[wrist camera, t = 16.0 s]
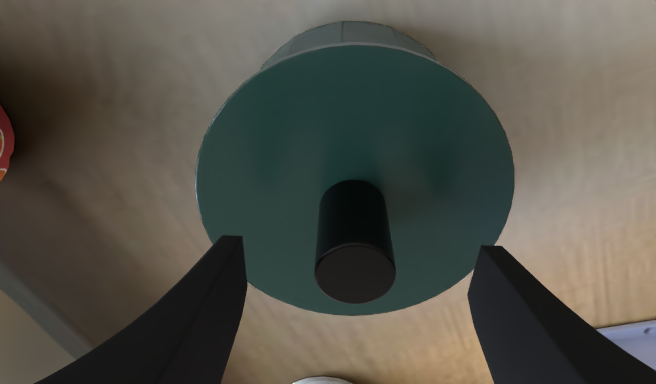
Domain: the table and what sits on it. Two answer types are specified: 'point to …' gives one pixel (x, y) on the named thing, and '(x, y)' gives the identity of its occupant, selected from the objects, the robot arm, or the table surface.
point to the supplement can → (322, 381)
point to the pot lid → (356, 178)
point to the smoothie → (5, 142)
